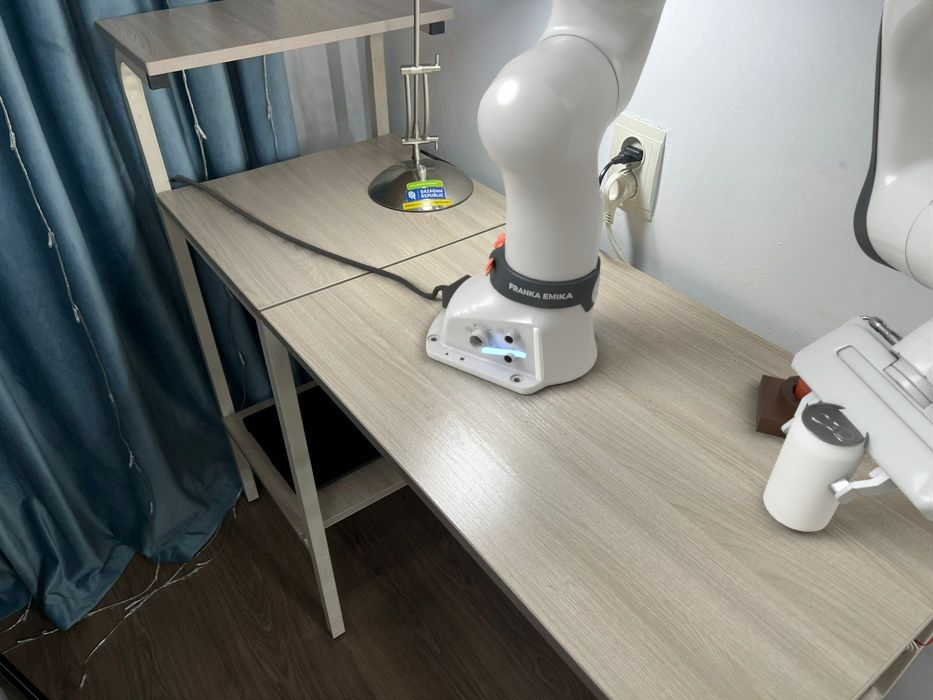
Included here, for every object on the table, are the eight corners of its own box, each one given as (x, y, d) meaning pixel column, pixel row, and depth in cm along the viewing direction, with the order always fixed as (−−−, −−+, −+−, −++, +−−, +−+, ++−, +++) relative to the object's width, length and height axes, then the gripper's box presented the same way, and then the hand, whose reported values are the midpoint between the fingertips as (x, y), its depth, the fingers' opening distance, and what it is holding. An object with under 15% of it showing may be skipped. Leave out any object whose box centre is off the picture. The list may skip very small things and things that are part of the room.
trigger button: (794, 402, 78) (799, 391, 77) (794, 382, 81) (798, 371, 80) (828, 410, 77) (834, 398, 76) (827, 390, 80) (832, 378, 79)
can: (801, 545, 67) (844, 460, 59) (748, 499, 71) (781, 415, 63) (843, 516, 69) (889, 431, 62) (789, 474, 74) (826, 390, 66)
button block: (755, 431, 80) (764, 405, 77) (758, 387, 86) (766, 362, 83) (849, 453, 77) (862, 428, 74) (845, 407, 83) (857, 382, 80)
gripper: (855, 291, 67) (739, 380, 72) (1029, 441, 52) (866, 542, 56) (879, 322, 71) (766, 405, 75) (1048, 471, 55) (893, 564, 60)
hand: (810, 465), depth 66 cm, fingers closed on can, 6 cm apart
